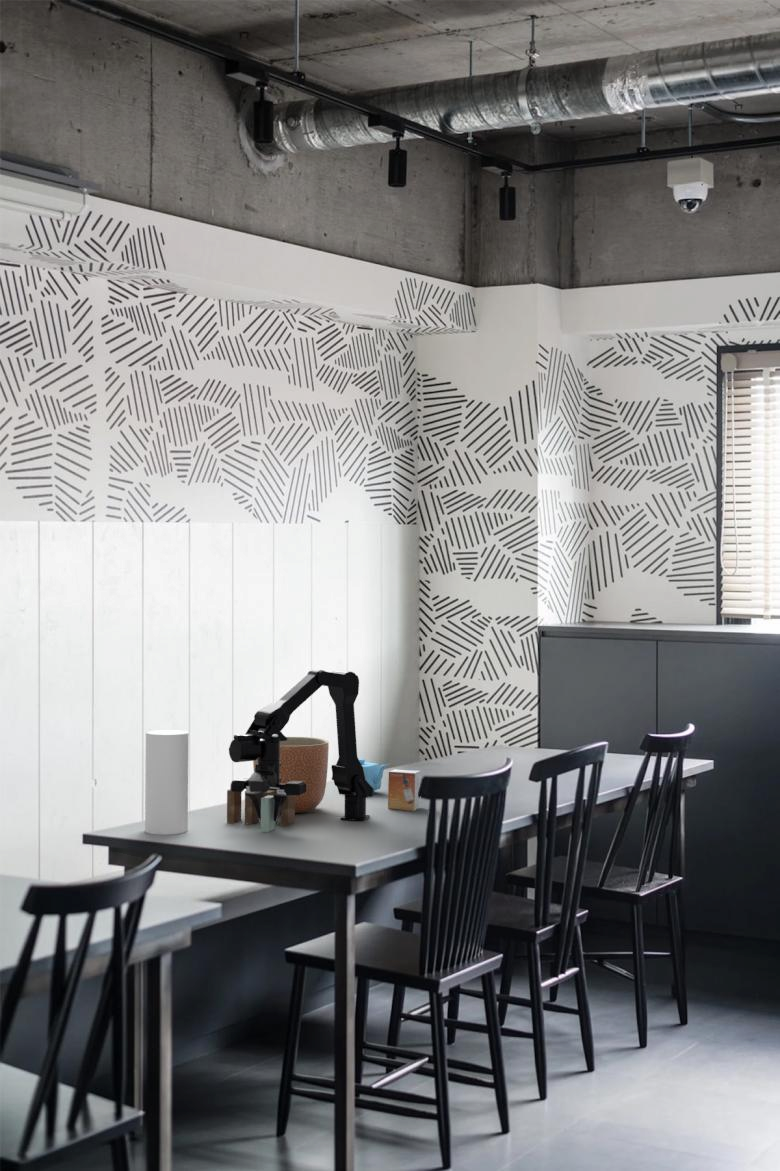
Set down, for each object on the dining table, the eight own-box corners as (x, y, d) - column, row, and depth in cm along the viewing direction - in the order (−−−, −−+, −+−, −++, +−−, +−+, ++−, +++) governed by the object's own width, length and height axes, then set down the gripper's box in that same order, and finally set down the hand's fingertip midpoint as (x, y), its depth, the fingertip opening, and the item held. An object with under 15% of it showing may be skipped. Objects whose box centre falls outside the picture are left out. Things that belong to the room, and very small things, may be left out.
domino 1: (226, 822, 375) (227, 790, 375) (234, 819, 380) (234, 787, 379) (233, 823, 374) (234, 790, 374) (241, 819, 379) (241, 787, 379)
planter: (268, 801, 408) (269, 735, 407) (337, 806, 402) (338, 738, 402) (240, 814, 388) (241, 744, 387) (313, 818, 382) (314, 747, 382)
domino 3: (262, 825, 372) (262, 792, 372) (269, 821, 377) (269, 789, 377) (269, 825, 371) (270, 792, 371) (276, 822, 376) (276, 789, 376)
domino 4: (260, 831, 362) (260, 798, 362) (267, 828, 367) (268, 795, 367) (268, 832, 362) (268, 798, 362) (275, 828, 367) (275, 795, 367)
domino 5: (280, 826, 371) (280, 793, 370) (287, 822, 375) (287, 790, 375) (287, 826, 370) (288, 793, 370) (294, 823, 375) (294, 790, 375)
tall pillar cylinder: (187, 826, 369) (188, 729, 368) (188, 834, 358) (188, 734, 358) (145, 827, 367) (146, 729, 367) (144, 835, 357) (145, 734, 356)
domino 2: (244, 823, 373) (244, 791, 373) (251, 820, 378) (252, 788, 378) (251, 824, 373) (252, 791, 373) (258, 821, 378) (259, 788, 377)
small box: (387, 809, 398) (387, 771, 398) (393, 806, 403) (394, 768, 403) (414, 811, 395) (415, 773, 395) (420, 807, 401) (421, 770, 400)
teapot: (324, 793, 424) (324, 759, 423) (347, 787, 436) (348, 754, 436) (378, 798, 415) (378, 764, 415) (400, 792, 428) (400, 758, 427)
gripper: (222, 761, 359) (221, 823, 359) (292, 765, 354) (291, 828, 354) (239, 755, 370) (238, 816, 370) (307, 759, 365) (306, 820, 365)
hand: (268, 820), depth 365 cm, fingers open, 4 cm apart
